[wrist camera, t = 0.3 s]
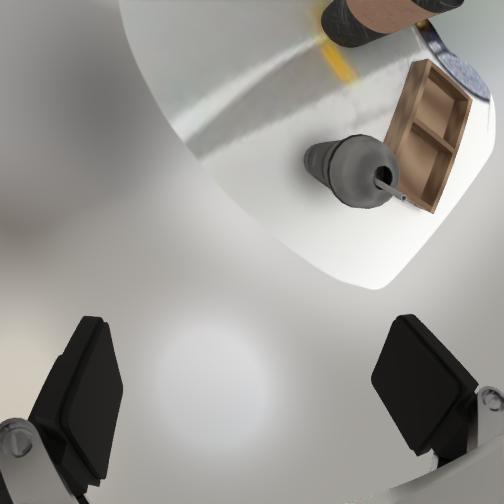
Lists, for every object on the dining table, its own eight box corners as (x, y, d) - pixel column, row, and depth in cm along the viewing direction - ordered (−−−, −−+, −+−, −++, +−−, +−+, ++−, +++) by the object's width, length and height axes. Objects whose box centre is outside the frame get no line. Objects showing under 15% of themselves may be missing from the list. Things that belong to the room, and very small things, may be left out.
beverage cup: (355, 165, 38) (459, 197, 20) (315, 198, 39) (400, 255, 21) (324, 122, 35) (423, 119, 17) (282, 156, 36) (354, 178, 18)
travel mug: (366, 57, 32) (468, 23, 14) (315, 38, 31) (398, -22, 12) (371, 15, 30) (463, -31, 11) (322, -4, 28) (398, -73, 10)
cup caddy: (411, 62, 33) (428, 58, 29) (455, 99, 36) (472, 99, 32) (368, 178, 39) (383, 183, 35) (417, 207, 42) (433, 214, 38)
